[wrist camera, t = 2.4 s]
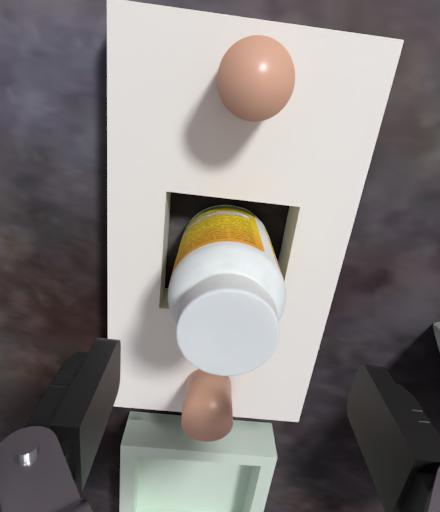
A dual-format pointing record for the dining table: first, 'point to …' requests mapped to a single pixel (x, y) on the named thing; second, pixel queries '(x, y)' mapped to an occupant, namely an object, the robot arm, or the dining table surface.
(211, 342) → the supplement bottle
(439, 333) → the skincare box
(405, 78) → the dining table surface
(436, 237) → the dining table surface
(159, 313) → the socket holder
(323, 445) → the dining table surface
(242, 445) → the tray
